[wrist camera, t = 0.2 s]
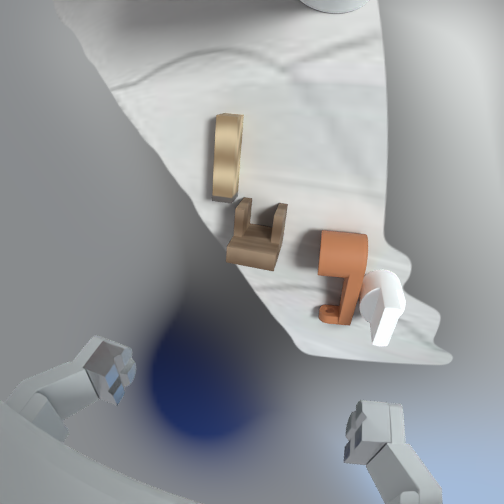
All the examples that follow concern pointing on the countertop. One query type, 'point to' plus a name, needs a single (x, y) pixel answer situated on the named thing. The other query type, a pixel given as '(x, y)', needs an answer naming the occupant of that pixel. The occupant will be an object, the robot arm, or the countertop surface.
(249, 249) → the wooden u-shaped bracket
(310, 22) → the countertop surface
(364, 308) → the white piece
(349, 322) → the crank
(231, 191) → the rail
